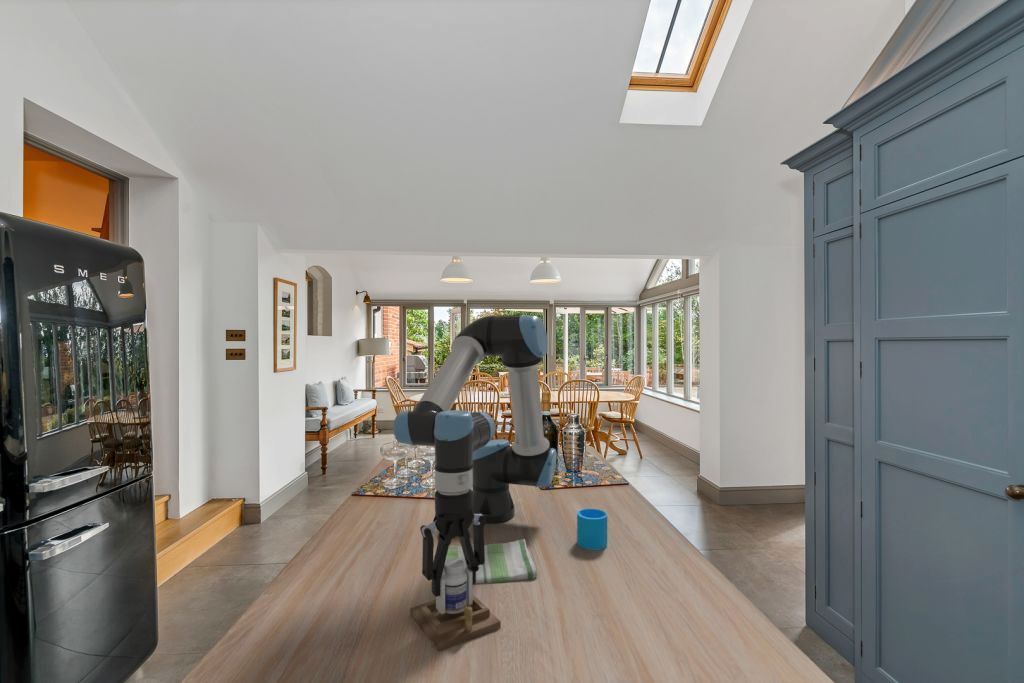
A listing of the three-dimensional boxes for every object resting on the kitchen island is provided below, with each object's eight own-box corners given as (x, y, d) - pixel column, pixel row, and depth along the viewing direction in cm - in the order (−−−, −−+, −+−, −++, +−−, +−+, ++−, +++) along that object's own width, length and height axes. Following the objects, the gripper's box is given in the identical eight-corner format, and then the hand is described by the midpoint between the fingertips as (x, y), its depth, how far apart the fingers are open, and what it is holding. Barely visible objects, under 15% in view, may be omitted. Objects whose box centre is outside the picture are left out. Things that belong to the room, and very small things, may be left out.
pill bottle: (441, 600, 100) (441, 557, 99) (467, 599, 100) (467, 556, 100) (440, 615, 94) (439, 569, 94) (467, 614, 95) (467, 568, 95)
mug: (611, 548, 130) (611, 518, 130) (582, 551, 129) (582, 520, 129) (596, 531, 142) (596, 503, 142) (569, 533, 140) (569, 504, 140)
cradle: (410, 613, 99) (410, 588, 99) (467, 595, 107) (466, 571, 106) (439, 650, 88) (438, 622, 88) (500, 627, 95) (500, 600, 95)
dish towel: (538, 581, 113) (538, 566, 113) (438, 589, 110) (438, 573, 110) (525, 549, 130) (525, 536, 130) (438, 555, 127) (438, 542, 127)
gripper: (417, 503, 89) (418, 630, 89) (503, 486, 99) (503, 600, 99) (403, 492, 95) (403, 611, 95) (484, 477, 105) (484, 585, 105)
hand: (454, 605), depth 97 cm, fingers closed on pill bottle, 5 cm apart
